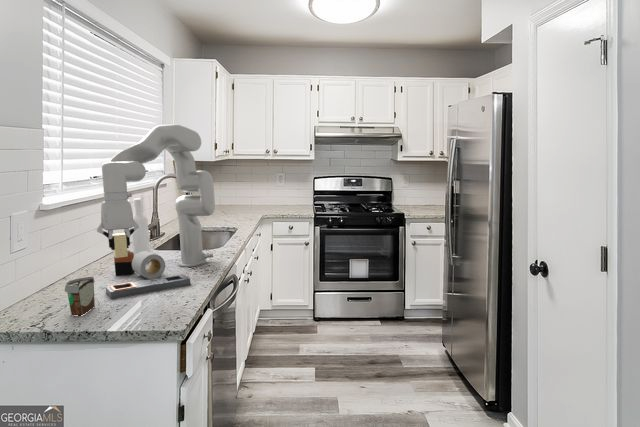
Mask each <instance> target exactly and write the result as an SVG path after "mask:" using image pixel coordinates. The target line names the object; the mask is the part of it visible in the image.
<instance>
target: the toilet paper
mask: <svg viewBox="0 0 640 427" xmlns="http://www.w3.org/2000/svg"><path fill="white" fill-rule="evenodd" d="M149 260H150V261H149ZM148 261H149V262H150V266H149V267H148V268H146V267H147V264H148V263H149V262H148ZM132 268H133V270H134V271H135V273H136V274H137V275H139V276H141V277H144V278H146V279H147V280H150V279H156V278H160V277H161V276H162V274H164V272H165V269H166V261H165V259H164V258H163V257H162V256H161V255H159V254H157V253H153V252H151V251H150V252H148V251H142V252H139V253H137V254H136V255H135V256H134V258H133V260H132Z"/></svg>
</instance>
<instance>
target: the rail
mask: <svg viewBox="0 0 640 427" xmlns="http://www.w3.org/2000/svg"><path fill="white" fill-rule="evenodd" d="M191 285H192V284H191V278H190V277H189V276H187V275H185V274H183V273H182V274H181V273H180V274H175V275H169V276H163V277H158V278H155V279H143V280H137V281H131V282H125V283H118V284H111V285H108V286H107V285H106V286H105V294H106V295H107V296H108V298H109V299H110V298H111V299H110V300H114V298H115V299H119V298H127V297H131V296H136V295H143V294H148V293H155V292H159V291H164V290H169V289H170V290H171V289H176V288H180V287H188V286H191Z"/></svg>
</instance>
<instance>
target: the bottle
mask: <svg viewBox="0 0 640 427" xmlns="http://www.w3.org/2000/svg"><path fill="white" fill-rule="evenodd" d="M132 203H133V213H134V214H133V219H134V221H135V222H136V223H137V224H138V226H139V228H138V229H137V230H135V231H134V232H133V233H132V234H131V236H130V238H131V239H130V240H131V250H132V251H131V252H133V253H134V256H135V255H136V254H137V253H139V252H142V251H148V252H151V247H150V246H151V245H150V233H149V221H148V218H147V216H146V214H144V213H143V200H142V198H133V201H132ZM132 228H133V227H132ZM149 262H151V260H149V261H148V262H147V263H149Z"/></svg>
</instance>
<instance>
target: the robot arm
mask: <svg viewBox="0 0 640 427" xmlns="http://www.w3.org/2000/svg"><path fill="white" fill-rule="evenodd" d="M201 146H202V138H201V136H200V135H199V133H198V132H197V131H196V130H193V129H191V128H188V127H187V126H184V125H181V124H159V125H156V126H154V127H152V128H151V130H150V131H149V132H148V133H147V134H146V135H145V136H143V138H142V139H141V140H140V141H139V142H137V143H136V144H135V143H134V144H133V145H131V146H129V147H127V148H124V149H123V150H120V151H119V152H117V153H116V154H114V156H113V157H112V158H111V159H110V160H108V162H104V163H102V165H101V172H102V186H103V197H104V198H103V199H104V201H101V208H100V220H101V221H100V224H99V226H98V227H97V229H96V232H97V233H99V234H101V235H104V237H106V238H107V239H108V247H109V249H111V251H113V250H115V248H114V239H113V237H112V236H113V234H114V231H117V230H123V231H124V232H123V233H125V234H126V240H127V249H129V247H130V246H131V239H130V238H131V234H132V233H133V232H134V231H135V230H137V229H138V228H139V226H138V224H137V223H136V222H135V221H134V219H133V215H134V214H133V213H134V211H133V208H132V203H131V201H130V199H129V198H132V197H133V194H132V192H128V186H127V185H128V184H127V183H137V182H140V181H142V180H143V179H144V178H145V177H146V173H147V172H146V171H147V170H146V167H145V164H146V163H149V162H152V161H154V160H156V159H157V158H158V157H159V156H160V154H161V153H162V152H163V151H164V150H166V151H167V152H168V153H169V154H170V155H171V157H172V158H173V162H174V164H175V176H176V183H177V188H178V190H179V191H180V192H183V193H199V194H185V195H181V196H179V197H177V199H176V200H175V203H174V204H175V210H176V213H177V219H178V227H179V228H178V230H179V240H180V242H179V243H180V258H181V260H179V261H177V265H178V266H179V267H184V268H185V267H198V266H203V265H205V264H207V260H206V259H211V258H213V257H214V253H209V252H208V253H206V252H203V240H202V225H201V222H200V220H199V218H198V217H210V216H212V215H213V214H214V213H215V210H216V208H215V207H216V201H215V187H214V185H215V184H214V180H213V176H212V174H211V173H210V172H209V171H207V170H197V169H196V168H197V167H196V161H195V157H194V155H193V154H192V152H197V151H198V150H200V149H201ZM132 227H133V228H132ZM103 229H104V230H103ZM106 231H107V232H106Z"/></svg>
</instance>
